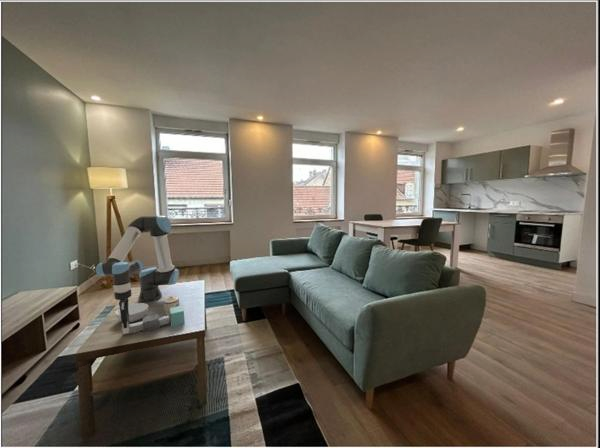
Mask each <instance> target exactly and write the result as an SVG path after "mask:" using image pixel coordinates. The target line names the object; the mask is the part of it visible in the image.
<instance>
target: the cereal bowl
mask: <svg viewBox="0 0 600 448" xmlns="http://www.w3.org/2000/svg"><path fill="white" fill-rule="evenodd" d="M128 310H129V315H130V317H129V321H130V323H134V322H135V323H136V322H137V321H139V320H141V319H143V317H146V316H147V314H148V312H149V305H148V303H142V302H139V303H132V304H128ZM115 317H116V319H117V320H118V321H119V322H121V313H120V308H119V309H117V310H116V311H115Z"/></svg>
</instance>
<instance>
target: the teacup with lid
mask: <svg viewBox="0 0 600 448" xmlns="http://www.w3.org/2000/svg"><path fill="white" fill-rule="evenodd" d="M177 306H180V298H179V297H177V296H173V294H172V295H169V297H168V298H165V299H164V300H163V307H164V316H168V315H169V317H170V308H173V307H177Z"/></svg>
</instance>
